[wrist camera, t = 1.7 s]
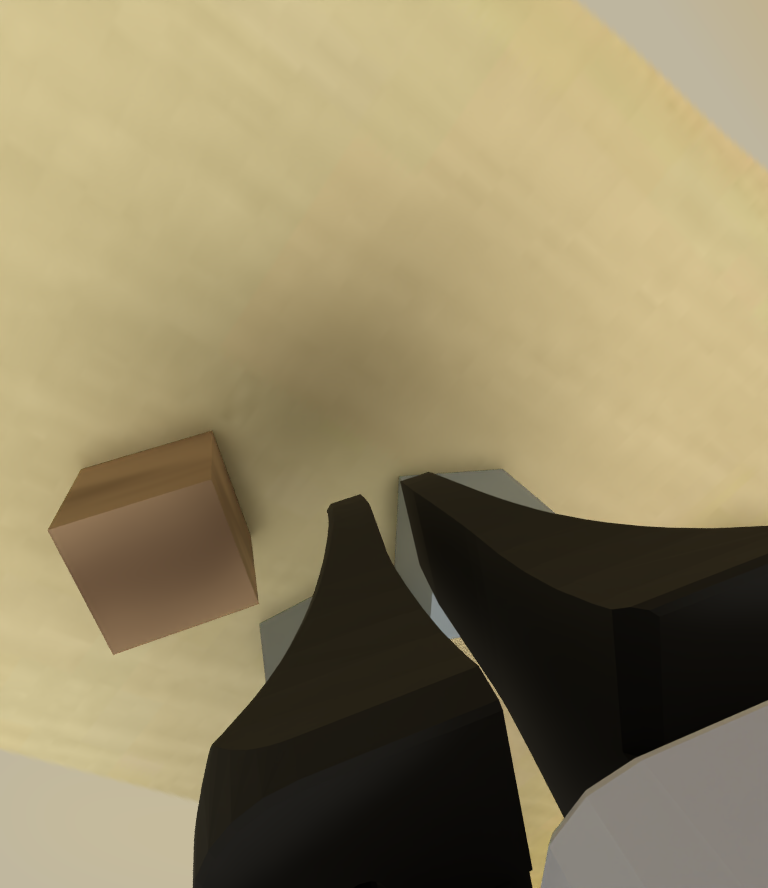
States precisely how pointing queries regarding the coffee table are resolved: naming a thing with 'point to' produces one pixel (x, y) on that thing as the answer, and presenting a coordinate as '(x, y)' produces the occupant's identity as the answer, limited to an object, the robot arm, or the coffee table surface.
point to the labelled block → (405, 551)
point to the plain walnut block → (157, 542)
